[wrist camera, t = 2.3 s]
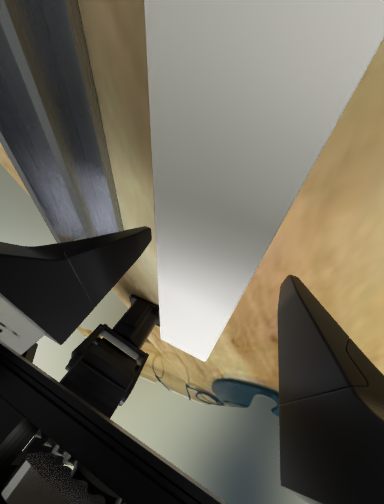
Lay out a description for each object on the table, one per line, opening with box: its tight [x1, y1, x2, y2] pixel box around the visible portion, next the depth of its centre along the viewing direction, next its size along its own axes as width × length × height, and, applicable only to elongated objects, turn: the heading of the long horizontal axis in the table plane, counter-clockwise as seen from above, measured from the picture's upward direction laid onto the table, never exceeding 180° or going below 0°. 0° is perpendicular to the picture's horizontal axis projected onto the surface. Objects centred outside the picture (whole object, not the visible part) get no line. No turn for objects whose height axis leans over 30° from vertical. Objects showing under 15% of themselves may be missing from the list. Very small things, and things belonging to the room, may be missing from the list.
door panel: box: [144, 0, 384, 362], centre depth 10 cm, size 16×4×8 cm, turn 173°
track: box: [0, 0, 124, 243], centre depth 14 cm, size 24×12×3 cm, turn 173°
